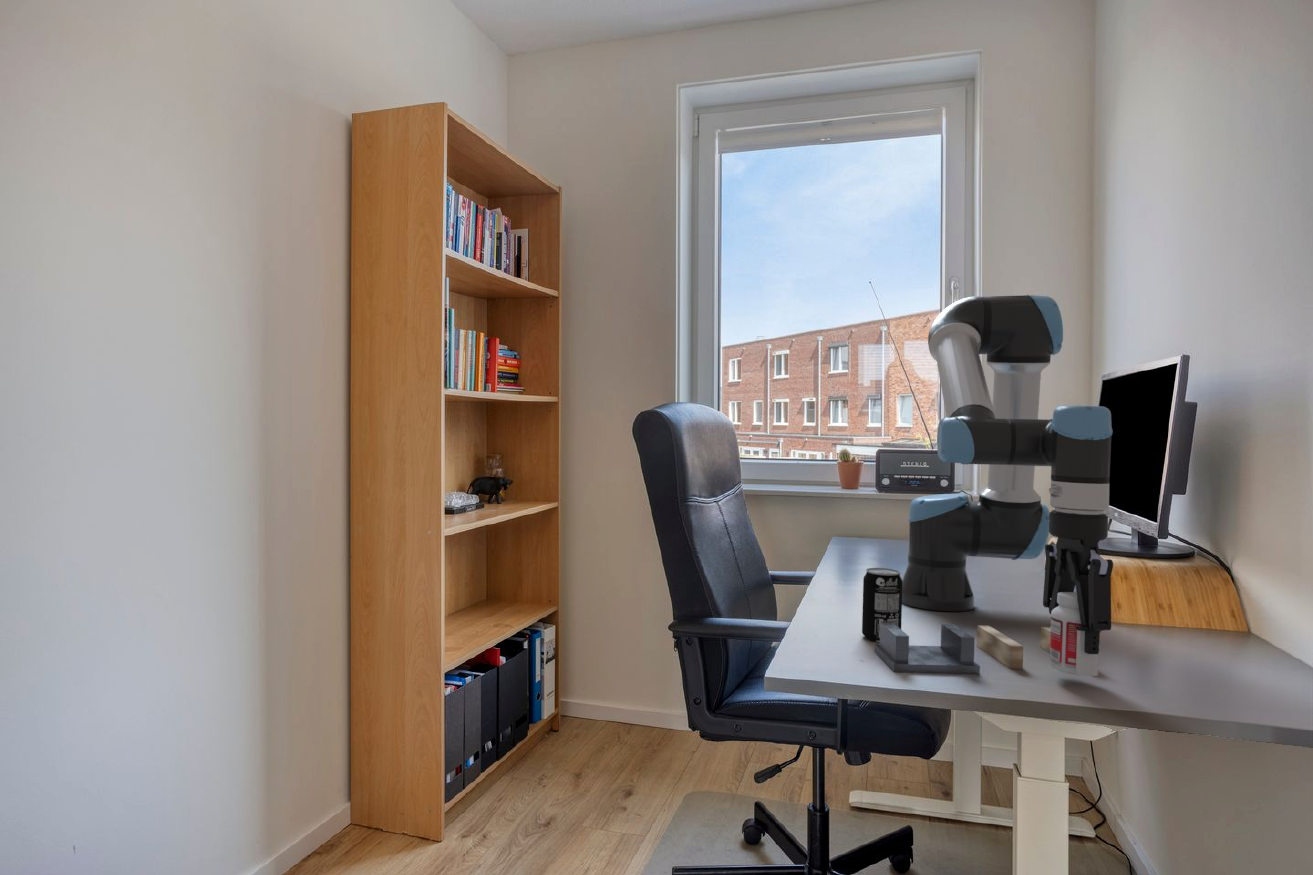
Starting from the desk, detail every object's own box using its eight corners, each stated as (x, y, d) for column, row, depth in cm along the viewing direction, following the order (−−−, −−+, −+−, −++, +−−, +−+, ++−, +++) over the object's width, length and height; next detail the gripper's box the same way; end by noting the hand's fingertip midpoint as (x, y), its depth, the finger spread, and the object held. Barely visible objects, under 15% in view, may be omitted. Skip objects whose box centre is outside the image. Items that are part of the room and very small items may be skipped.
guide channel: (976, 645, 127) (977, 625, 127) (1052, 647, 127) (1053, 627, 127) (1009, 668, 115) (1010, 646, 115) (1093, 670, 115) (1094, 648, 115)
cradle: (874, 651, 122) (875, 620, 122) (953, 653, 122) (954, 622, 122) (893, 671, 112) (894, 637, 112) (979, 673, 112) (980, 639, 112)
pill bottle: (1105, 671, 108) (1108, 596, 108) (1084, 679, 105) (1086, 602, 104) (1062, 660, 113) (1065, 588, 113) (1041, 666, 110) (1043, 592, 110)
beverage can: (873, 631, 134) (875, 565, 134) (907, 639, 130) (909, 571, 129) (854, 637, 130) (856, 570, 130) (889, 646, 125) (891, 575, 125)
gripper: (1021, 502, 118) (1016, 646, 118) (1091, 518, 99) (1085, 689, 99) (1068, 503, 118) (1063, 647, 118) (1147, 520, 99) (1140, 690, 99)
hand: (1073, 666), depth 109 cm, fingers closed on pill bottle, 6 cm apart
